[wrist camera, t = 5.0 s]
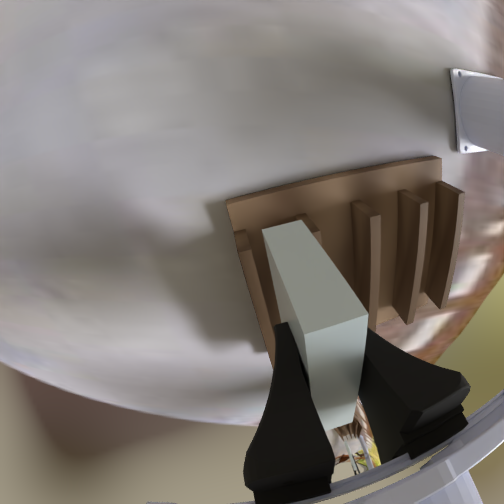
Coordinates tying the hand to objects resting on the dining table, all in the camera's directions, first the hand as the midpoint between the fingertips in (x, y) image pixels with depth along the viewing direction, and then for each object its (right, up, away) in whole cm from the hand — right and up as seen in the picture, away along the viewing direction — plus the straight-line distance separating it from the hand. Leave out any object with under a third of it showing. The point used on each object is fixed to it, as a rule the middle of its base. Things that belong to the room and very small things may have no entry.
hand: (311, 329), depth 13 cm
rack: (+6, +3, +11) cm, 12 cm away
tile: (0, +2, +3) cm, 3 cm away
